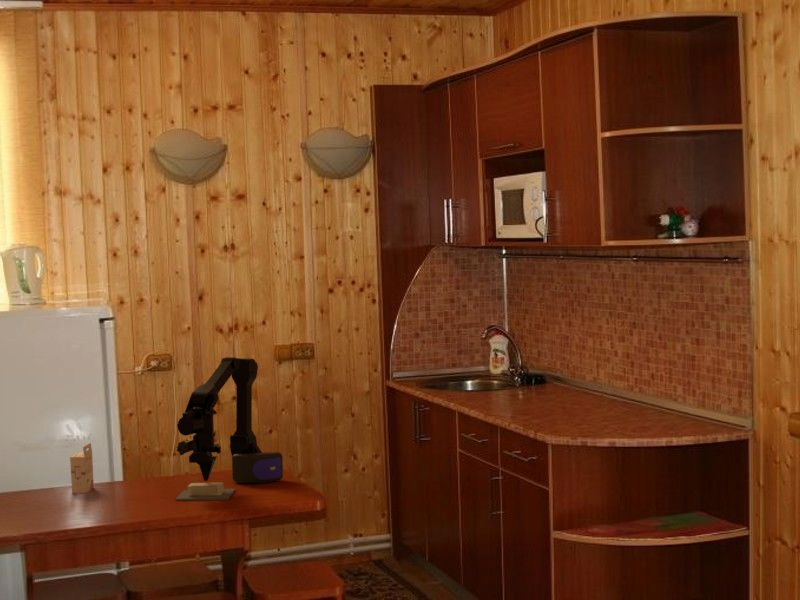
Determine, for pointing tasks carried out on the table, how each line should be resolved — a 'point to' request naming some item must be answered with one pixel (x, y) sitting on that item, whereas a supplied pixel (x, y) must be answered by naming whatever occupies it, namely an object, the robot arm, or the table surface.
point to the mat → (223, 496)
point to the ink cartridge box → (82, 471)
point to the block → (205, 489)
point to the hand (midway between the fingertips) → (206, 480)
